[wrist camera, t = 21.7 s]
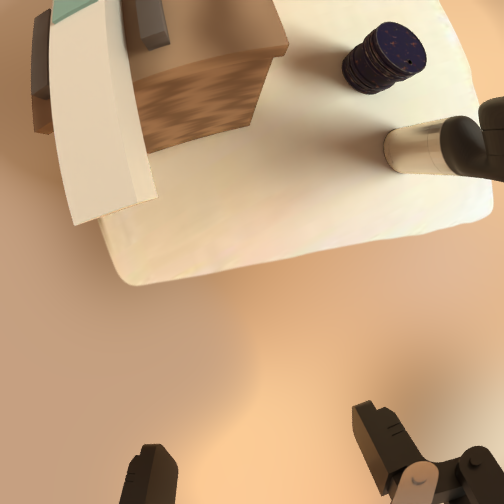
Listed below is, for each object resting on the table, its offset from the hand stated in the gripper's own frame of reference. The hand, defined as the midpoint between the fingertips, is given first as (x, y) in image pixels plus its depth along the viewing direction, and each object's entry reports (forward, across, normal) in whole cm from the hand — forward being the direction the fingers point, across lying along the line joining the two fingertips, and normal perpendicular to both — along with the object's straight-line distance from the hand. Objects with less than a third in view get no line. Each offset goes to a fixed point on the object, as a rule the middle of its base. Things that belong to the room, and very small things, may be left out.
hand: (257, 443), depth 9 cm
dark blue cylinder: (+42, -32, -26) cm, 59 cm away
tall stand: (+42, +2, -24) cm, 48 cm away
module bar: (+10, +5, -21) cm, 24 cm away
